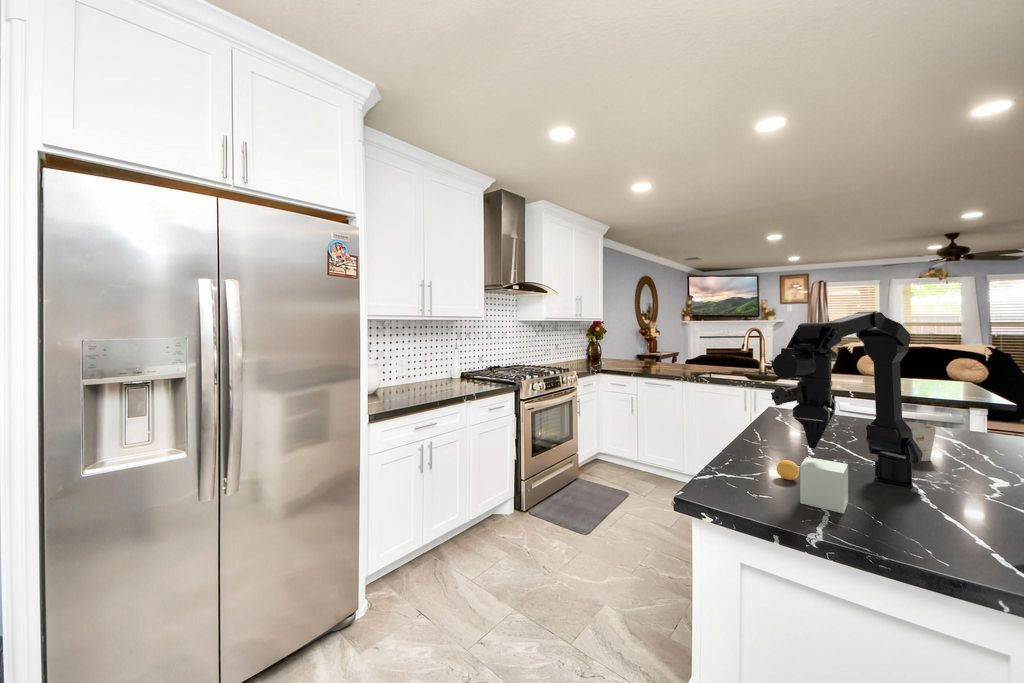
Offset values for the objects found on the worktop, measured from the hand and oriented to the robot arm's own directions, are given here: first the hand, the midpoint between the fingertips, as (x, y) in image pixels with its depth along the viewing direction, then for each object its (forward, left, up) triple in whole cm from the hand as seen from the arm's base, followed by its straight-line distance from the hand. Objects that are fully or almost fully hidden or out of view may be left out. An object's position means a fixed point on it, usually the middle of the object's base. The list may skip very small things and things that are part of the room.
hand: (814, 444), depth 92 cm
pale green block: (-2, 0, -13) cm, 13 cm away
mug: (-15, -53, -13) cm, 56 cm away
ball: (+7, -11, -11) cm, 17 cm away
